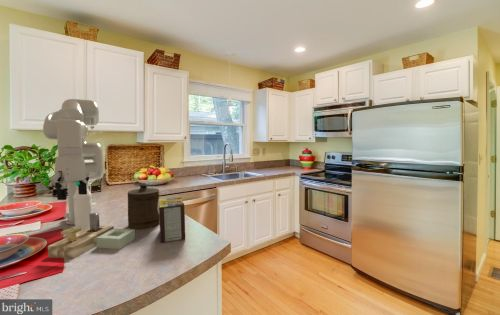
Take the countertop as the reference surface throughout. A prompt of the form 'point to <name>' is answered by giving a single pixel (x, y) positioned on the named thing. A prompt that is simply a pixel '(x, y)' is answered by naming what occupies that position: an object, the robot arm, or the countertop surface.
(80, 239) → the socket block
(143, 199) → the wooden container
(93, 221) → the silver cylinder
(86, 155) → the robot arm
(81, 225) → the water bottle
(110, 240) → the pale green square block
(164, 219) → the protein box
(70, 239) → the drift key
